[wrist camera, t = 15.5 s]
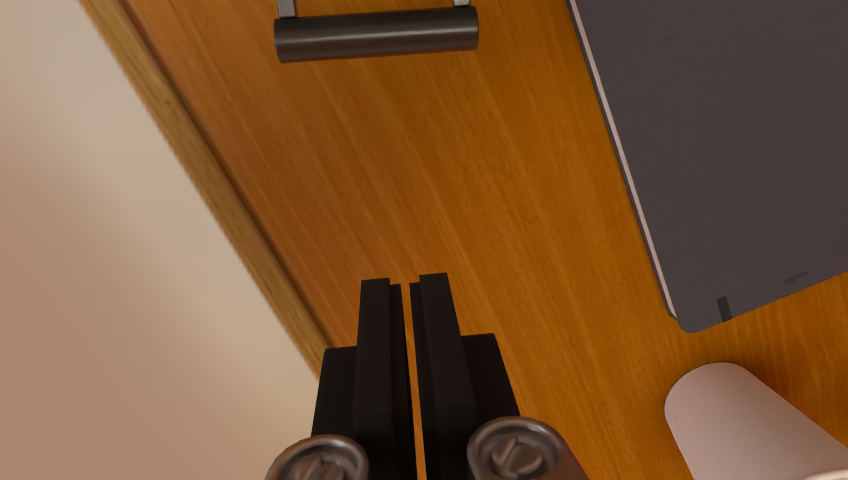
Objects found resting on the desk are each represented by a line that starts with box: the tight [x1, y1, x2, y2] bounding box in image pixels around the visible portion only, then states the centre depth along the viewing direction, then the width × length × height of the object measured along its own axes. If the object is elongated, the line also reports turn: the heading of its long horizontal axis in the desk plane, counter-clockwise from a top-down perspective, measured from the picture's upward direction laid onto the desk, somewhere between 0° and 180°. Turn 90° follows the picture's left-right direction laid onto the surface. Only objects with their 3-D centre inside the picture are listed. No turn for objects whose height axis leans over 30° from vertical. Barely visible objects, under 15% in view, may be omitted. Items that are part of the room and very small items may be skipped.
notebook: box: [566, 0, 848, 333], centre depth 28 cm, size 13×2×21 cm
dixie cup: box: [664, 362, 848, 480], centre depth 31 cm, size 8×8×10 cm
